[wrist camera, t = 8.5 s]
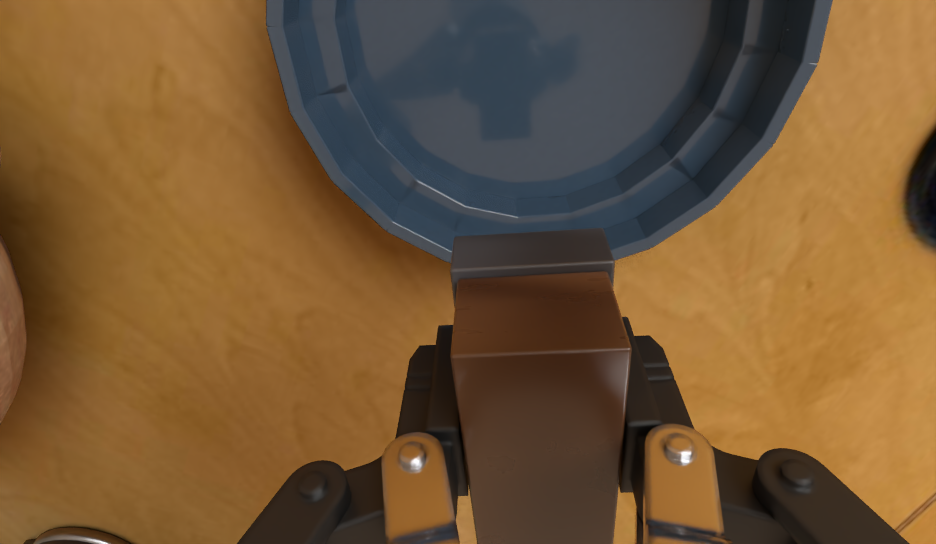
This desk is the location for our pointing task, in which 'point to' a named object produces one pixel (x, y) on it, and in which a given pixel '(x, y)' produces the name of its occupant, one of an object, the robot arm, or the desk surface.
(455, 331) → the eraser
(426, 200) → the wash bowl
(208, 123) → the desk surface
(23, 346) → the ceramic bowl
